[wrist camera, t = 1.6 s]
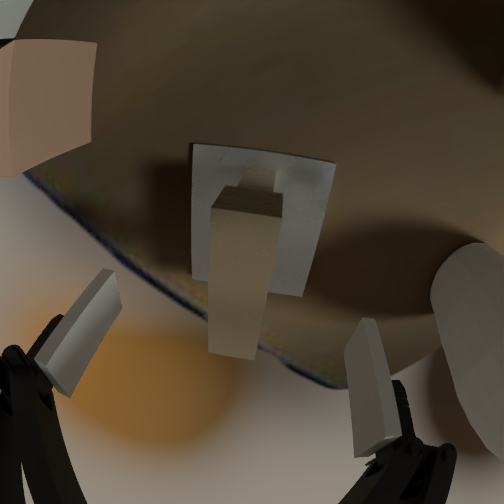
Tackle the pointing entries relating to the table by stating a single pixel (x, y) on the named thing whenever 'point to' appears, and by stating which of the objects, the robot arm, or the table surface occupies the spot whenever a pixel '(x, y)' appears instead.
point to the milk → (12, 16)
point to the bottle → (474, 335)
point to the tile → (43, 100)
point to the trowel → (252, 234)
